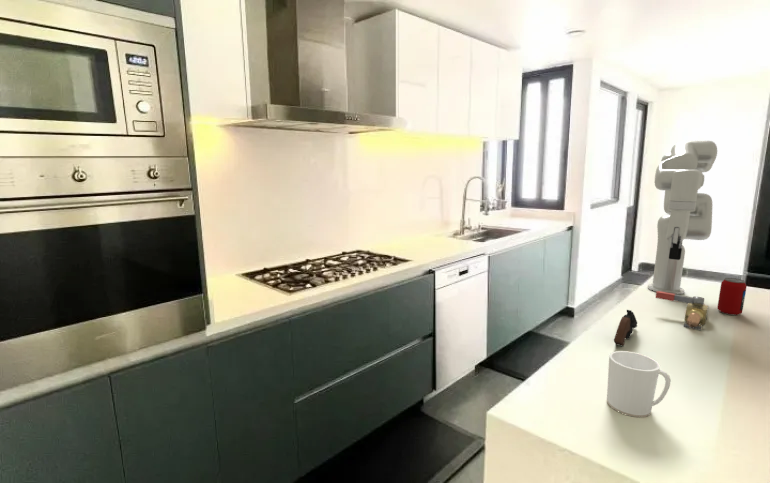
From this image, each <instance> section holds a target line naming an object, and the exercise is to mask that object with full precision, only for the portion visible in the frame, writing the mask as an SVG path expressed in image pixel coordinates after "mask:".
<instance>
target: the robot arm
mask: <svg viewBox="0 0 770 483" xmlns="http://www.w3.org/2000/svg"><path fill="white" fill-rule="evenodd" d="M717 156H718V146H717V144H716V143H715V142H714V141H712V140H686V141H685V140H682V141H680V142H676V143H675V144H674V145H673V146H672V148H671V151H670V152H669V153H665V154H664V155H663V156H662V158H661V160H660V163H659V164H658V166H657V167H656V170H655V175H654V186H655V188H656V189H657V190H660V191H664V199H663V211H664V212H665V214H664V215H662V216H660V217H659V219H658V220H657V224H656V225H657V226H656V228H657V243H656V244H657V245H656V252H655V253H656V254H655V262H654V269H653V270H654V271H653V278H652V283H649V284H647V289H649V290H650V291H652V290H653V292H655V293H656V292H657V291H661V292H667V293H673V294H675V295H683V294H684V293H685V289H684V288H682V287H681V284H682V283H681V282H682V277H683V276H682V275H683V270H684V269H683V268H684V262H685V254H686V249H685V247H684V245H683V240H690V241H691V240H692V241H694V240H695V241H705V240H708V239H710V236H711V233H712V227H713V226H712V225H713V224H712V223H713V199H712V196H711V195H709V194H707V193H701V192H699V190H700V189H701V188H702V187H703V186H704V184H705V174H704V173H707V172H709V171H710V170H711V169H712V168H713V165H714V163H715V162H716V158H717Z"/></svg>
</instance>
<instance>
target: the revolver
mask: <svg viewBox="0 0 770 483" xmlns="http://www.w3.org/2000/svg"><path fill="white" fill-rule="evenodd" d="M637 324H638V320H637V318H636V315H635V313H634V312H633V311H632V309H631V310H630V309H626V314H624V315H623V316H622V317H621V319H620V321H619V323H618V327H617V329H616V332H615V336H614V339H613V342H614V344H615V345H616V346H620V347H624V346H625V343H626V340H629V339H631V334H633V331H634V329H636V328H637V327H638V325H637Z"/></svg>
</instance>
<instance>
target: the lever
mask: <svg viewBox="0 0 770 483" xmlns="http://www.w3.org/2000/svg"><path fill="white" fill-rule="evenodd" d="M655 299H658V300H659V299H660V300H666V301H671V302H680V303H686V304H688V303H690V304H692V305H693V306H697V307H703V305H704V304H705V298H704V297H702V296H701V297H700V296H686V295H682V294H673V293H667V292H661V291H657V292H656V291H655Z"/></svg>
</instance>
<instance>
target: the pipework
mask: <svg viewBox="0 0 770 483" xmlns="http://www.w3.org/2000/svg"><path fill="white" fill-rule="evenodd" d="M708 309H709V305H706V304H705V303H704V305H703V307H697V306H693V305H692V304H690V303H687V305H686V307H685V316H684V323H683V328H689V329H693V330H698V331H701V330H702V328H703V327H702V326H705V325H706V321H707V317H708V316H707V315H708Z"/></svg>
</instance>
